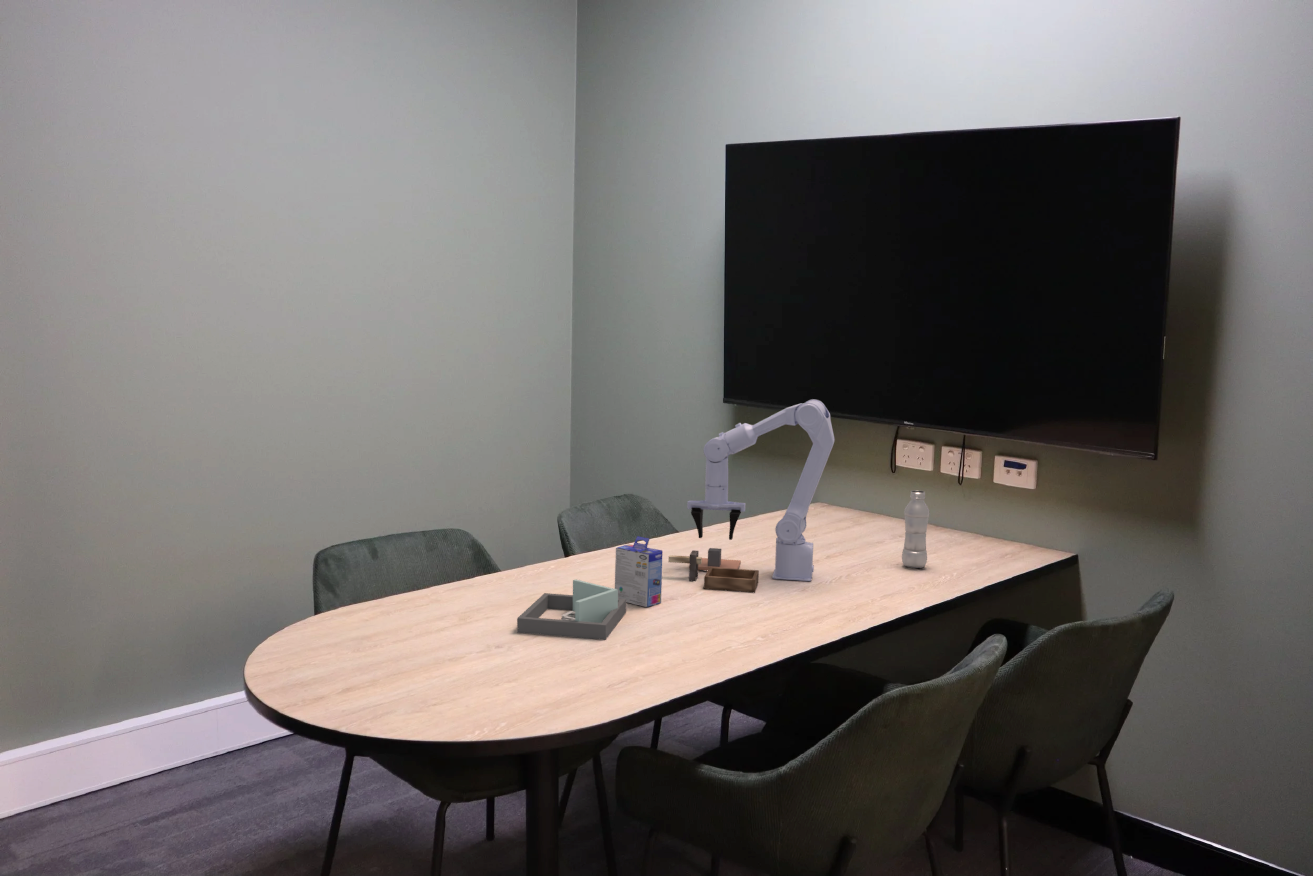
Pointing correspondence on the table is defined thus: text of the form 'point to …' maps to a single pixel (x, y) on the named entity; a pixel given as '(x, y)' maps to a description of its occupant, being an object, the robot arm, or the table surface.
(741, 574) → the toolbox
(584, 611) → the l-shaped corner panel
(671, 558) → the tan rectangular bar
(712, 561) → the lid
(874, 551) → the table surface
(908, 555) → the plastic bottle
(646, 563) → the ink cartridge box
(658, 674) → the table surface
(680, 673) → the table surface
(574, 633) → the dark gray square frame
